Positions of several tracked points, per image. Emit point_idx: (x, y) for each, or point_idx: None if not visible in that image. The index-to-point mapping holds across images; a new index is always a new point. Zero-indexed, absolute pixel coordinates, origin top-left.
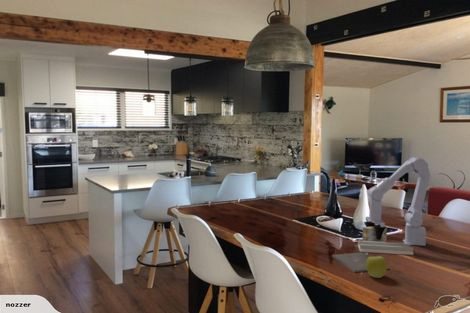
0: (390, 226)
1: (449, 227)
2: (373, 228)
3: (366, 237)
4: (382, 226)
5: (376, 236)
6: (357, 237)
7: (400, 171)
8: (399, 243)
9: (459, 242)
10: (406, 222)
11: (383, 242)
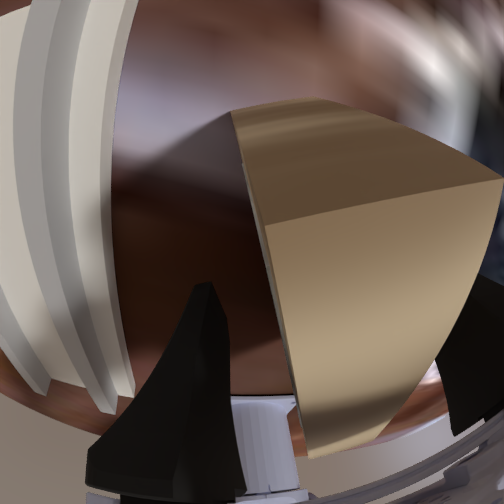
0: None
1: (380, 437)
2: (299, 402)
3: (238, 141)
4: (96, 501)
5: (196, 309)
6: (469, 137)
7: None
8: (84, 384)
9: None
10: (307, 497)
11: (49, 305)
